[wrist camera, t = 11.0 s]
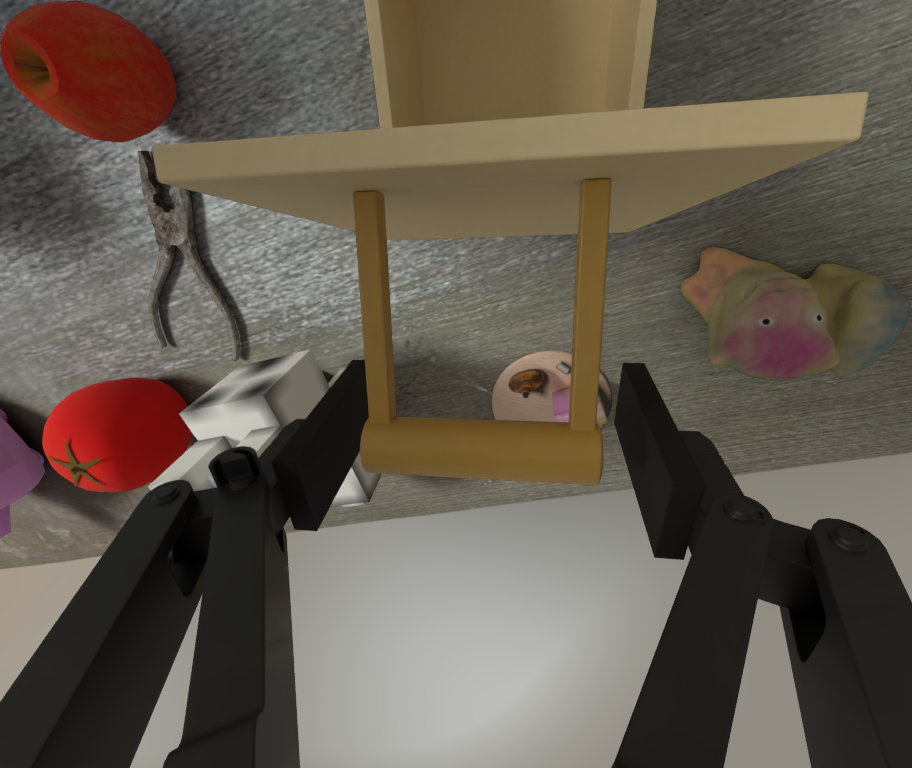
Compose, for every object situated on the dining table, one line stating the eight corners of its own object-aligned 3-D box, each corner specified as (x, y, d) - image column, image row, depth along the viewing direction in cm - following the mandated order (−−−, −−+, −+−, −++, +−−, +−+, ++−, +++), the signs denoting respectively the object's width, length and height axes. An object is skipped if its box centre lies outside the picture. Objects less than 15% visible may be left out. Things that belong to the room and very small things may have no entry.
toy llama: (348, 463, 52) (259, 624, 35) (280, 333, 44) (123, 457, 27) (405, 454, 50) (340, 620, 33) (343, 317, 42) (217, 439, 25)
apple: (166, 163, 38) (48, 172, 28) (82, 73, 35) (-77, 50, 26) (217, 92, 34) (103, 76, 25) (130, -13, 32) (-34, -74, 22)
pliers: (165, 362, 47) (72, 157, 37) (170, 358, 48) (80, 157, 38) (245, 362, 46) (169, 148, 36) (249, 358, 46) (176, 148, 37)
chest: (398, -81, 28) (341, -175, 19) (636, -117, 25) (688, -242, 17) (424, 210, 36) (393, 232, 28) (604, 202, 34) (628, 224, 26)
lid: (149, 145, 10) (212, 501, 12) (872, 89, 8) (785, 541, 10) (390, 227, 27) (398, 366, 30) (630, 218, 25) (619, 369, 27)
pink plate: (588, 332, 40) (595, 353, 36) (627, 431, 44) (636, 459, 40) (472, 375, 44) (466, 398, 40) (518, 462, 48) (517, 490, 44)
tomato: (224, 398, 50) (140, 470, 39) (198, 457, 55) (118, 535, 45) (123, 337, 48) (4, 396, 37) (106, 406, 53) (-1, 474, 43)
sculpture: (892, 253, 33) (1019, 294, 24) (840, 353, 37) (934, 418, 29) (690, 244, 35) (743, 279, 26) (663, 340, 39) (701, 398, 30)
